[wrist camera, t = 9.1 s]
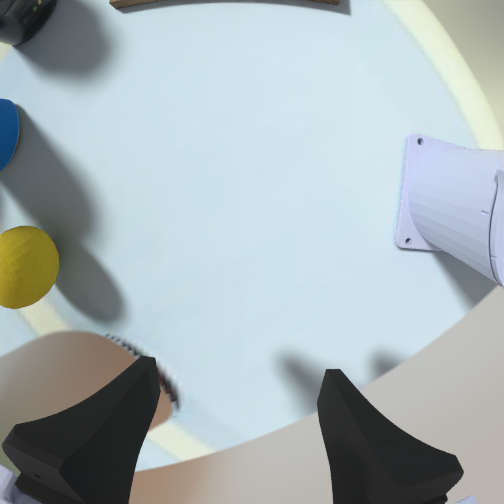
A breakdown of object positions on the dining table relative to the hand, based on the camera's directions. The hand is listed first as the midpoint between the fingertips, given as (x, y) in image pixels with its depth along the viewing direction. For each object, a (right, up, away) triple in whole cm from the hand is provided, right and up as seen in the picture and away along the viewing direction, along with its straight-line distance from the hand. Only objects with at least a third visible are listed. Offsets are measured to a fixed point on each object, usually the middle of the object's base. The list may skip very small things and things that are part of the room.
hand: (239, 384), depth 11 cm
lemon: (-16, +6, +9) cm, 19 cm away
